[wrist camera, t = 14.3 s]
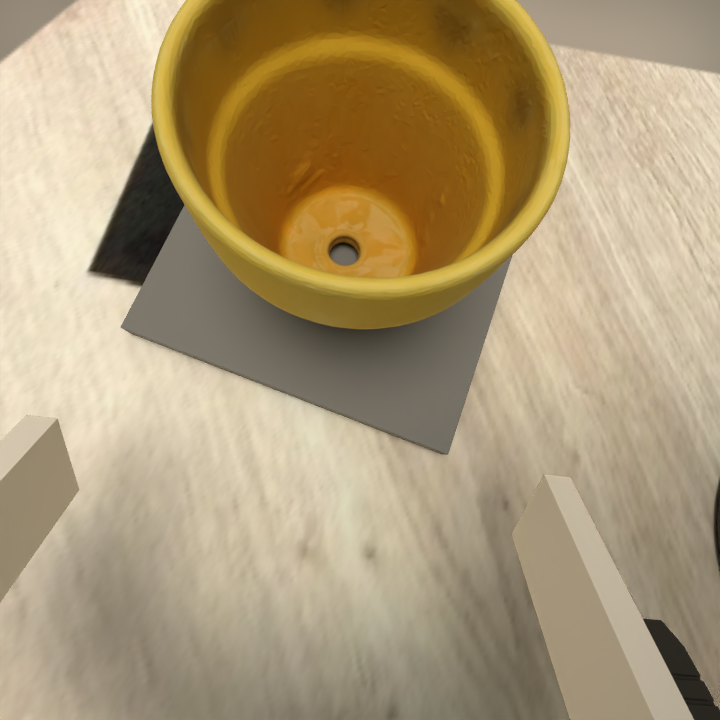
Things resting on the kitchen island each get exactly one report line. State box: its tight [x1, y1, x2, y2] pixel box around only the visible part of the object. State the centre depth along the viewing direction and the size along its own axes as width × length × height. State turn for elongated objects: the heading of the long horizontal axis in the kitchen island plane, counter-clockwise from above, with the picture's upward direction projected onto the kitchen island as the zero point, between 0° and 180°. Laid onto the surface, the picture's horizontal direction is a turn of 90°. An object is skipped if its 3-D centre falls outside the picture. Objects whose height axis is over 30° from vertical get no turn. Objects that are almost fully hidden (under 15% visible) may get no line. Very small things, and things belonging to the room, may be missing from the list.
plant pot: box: [152, 0, 570, 329], centre depth 15 cm, size 10×10×10 cm
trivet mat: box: [121, 206, 512, 454], centre depth 20 cm, size 15×13×1 cm
